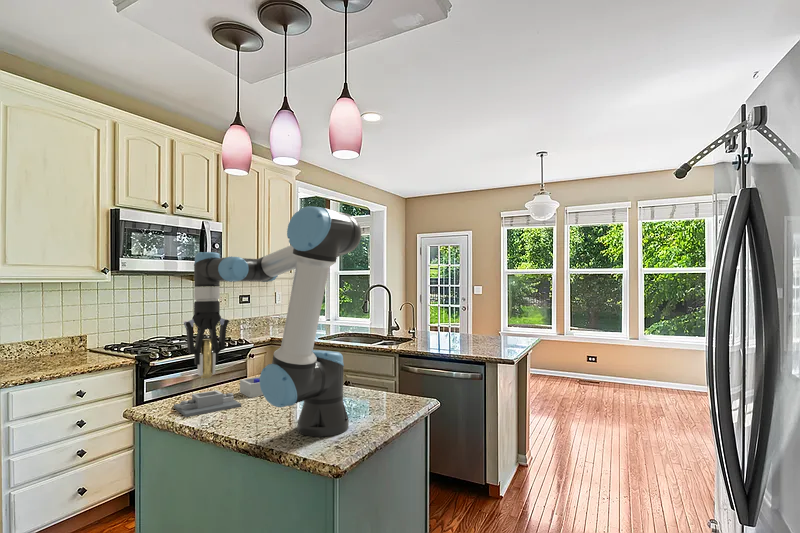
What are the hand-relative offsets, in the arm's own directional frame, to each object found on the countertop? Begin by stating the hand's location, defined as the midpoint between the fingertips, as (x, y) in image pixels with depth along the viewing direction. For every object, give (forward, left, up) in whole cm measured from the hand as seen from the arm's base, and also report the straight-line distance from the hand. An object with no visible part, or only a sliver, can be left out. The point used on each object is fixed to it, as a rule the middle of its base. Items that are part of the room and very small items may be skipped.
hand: (206, 373), depth 137 cm
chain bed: (+13, -5, -14) cm, 20 cm away
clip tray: (+20, -30, -14) cm, 39 cm away
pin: (0, 0, -1) cm, 1 cm away
